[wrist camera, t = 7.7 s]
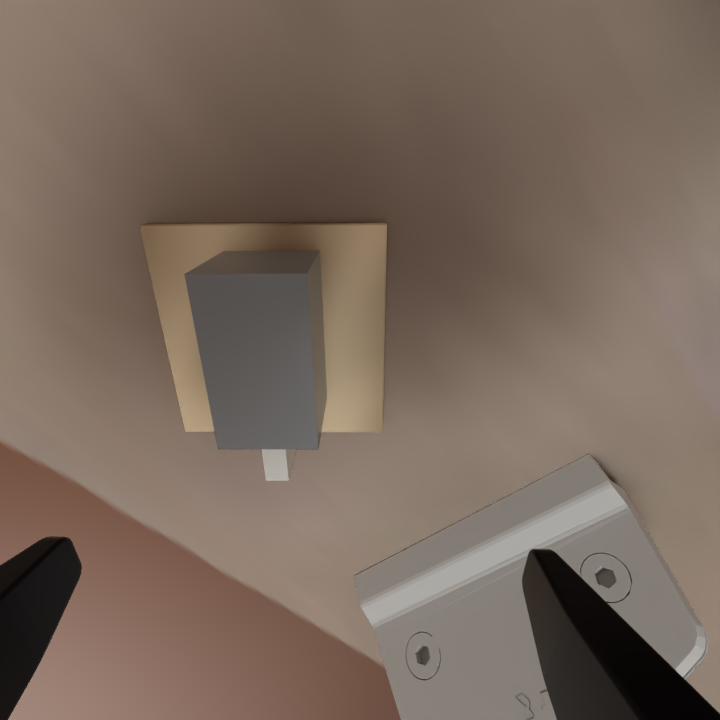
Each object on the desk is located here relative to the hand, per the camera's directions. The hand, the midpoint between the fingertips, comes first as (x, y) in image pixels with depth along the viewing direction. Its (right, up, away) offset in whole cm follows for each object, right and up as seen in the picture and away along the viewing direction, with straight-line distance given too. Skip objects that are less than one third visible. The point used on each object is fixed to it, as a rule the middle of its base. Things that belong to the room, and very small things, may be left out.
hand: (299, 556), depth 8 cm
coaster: (-3, +5, +11) cm, 12 cm away
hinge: (+9, -8, +17) cm, 21 cm away
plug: (-4, +3, +9) cm, 11 cm away
